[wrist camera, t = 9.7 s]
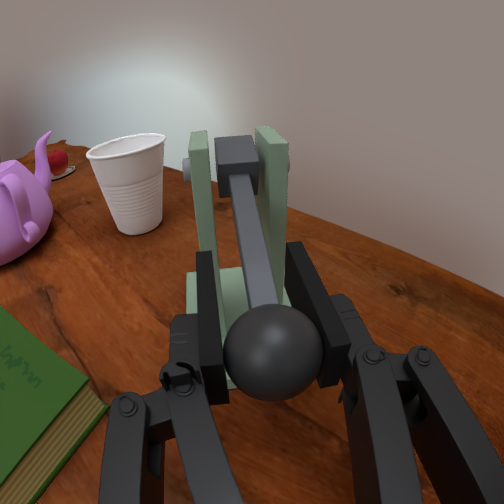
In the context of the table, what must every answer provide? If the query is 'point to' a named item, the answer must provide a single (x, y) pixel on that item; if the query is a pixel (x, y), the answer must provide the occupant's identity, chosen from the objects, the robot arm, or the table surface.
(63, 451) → the book
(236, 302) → the switch bracket
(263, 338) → the switch lever
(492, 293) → the table surface
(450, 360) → the table surface
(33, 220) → the teapot
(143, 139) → the cup
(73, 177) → the table surface
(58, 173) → the apple
